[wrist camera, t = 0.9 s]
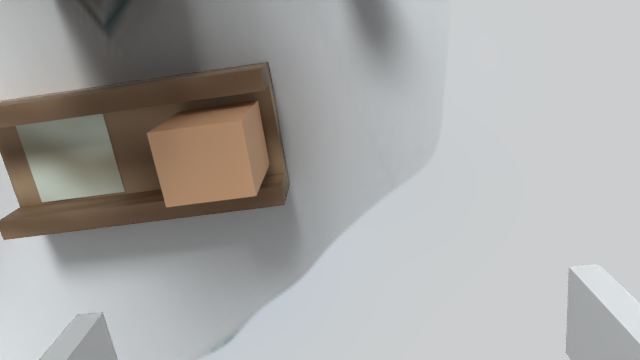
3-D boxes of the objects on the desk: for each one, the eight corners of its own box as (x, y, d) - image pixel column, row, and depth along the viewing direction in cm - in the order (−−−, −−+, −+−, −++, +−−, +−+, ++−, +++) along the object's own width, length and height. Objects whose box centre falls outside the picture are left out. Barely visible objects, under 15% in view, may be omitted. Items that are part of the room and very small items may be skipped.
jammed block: (179, 111, 37) (146, 133, 31) (257, 100, 37) (241, 120, 30) (194, 173, 39) (166, 207, 32) (269, 164, 38) (256, 195, 32)
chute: (-5, 101, 39) (-46, 112, 35) (268, 62, 38) (259, 68, 33) (36, 216, 42) (3, 239, 38) (289, 184, 41) (284, 204, 37)
